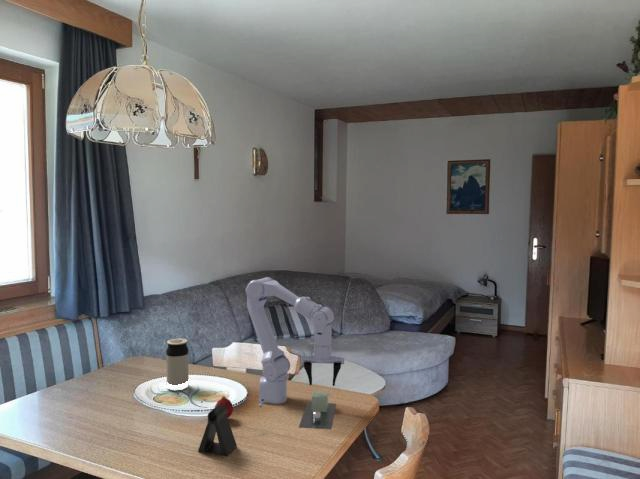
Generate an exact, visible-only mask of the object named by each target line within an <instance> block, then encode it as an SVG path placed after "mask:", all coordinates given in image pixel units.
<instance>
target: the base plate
mask: <svg viewBox="0 0 640 479" xmlns="http://www.w3.org/2000/svg"><path fill="white" fill-rule="evenodd" d="M336 406H337V404H336V403H333V402H332V403H331V402H328V409H327V412H320V411H317V410H316V411H312V401H310V402H309V401H307V402H306V405H305V407H304V410H303V413H302V415H301V420H300V422H299V425H298V428H299V429H300V428H301V429H303V428H304V429H317V430H332V427H333V423H334V418H335V416H334V415H335V411H336Z"/></svg>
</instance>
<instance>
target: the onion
mask: <svg viewBox="0 0 640 479" xmlns="http://www.w3.org/2000/svg"><path fill="white" fill-rule="evenodd" d="M232 403H233V402H231V400H230V399H228V398H227V397H226V396H225V395H222V396H221V398H219V400H218V401H217V402H216V403H215V406H214V408H215V407H217V406H218V405H219V404H221V405H220V406H219V407H221V406H222V405H223V404H224V405H225V406H226V407H227V417H228V418H230V417H231V415H232V414H233V412H234V406H233V404H232ZM219 407H218V408H219Z"/></svg>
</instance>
